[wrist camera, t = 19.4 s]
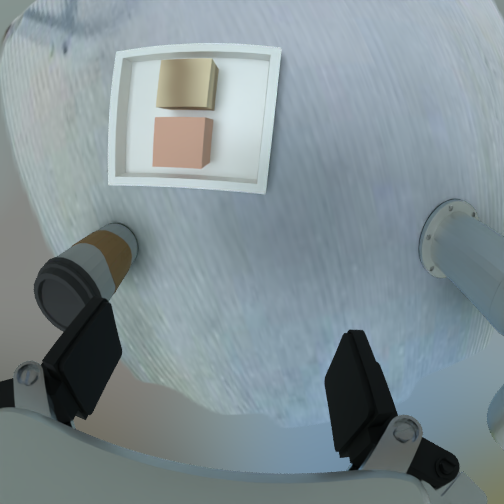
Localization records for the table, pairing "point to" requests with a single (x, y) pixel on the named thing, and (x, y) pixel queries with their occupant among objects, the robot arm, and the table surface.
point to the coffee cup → (84, 273)
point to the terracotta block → (182, 142)
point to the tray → (224, 116)
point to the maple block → (187, 84)
